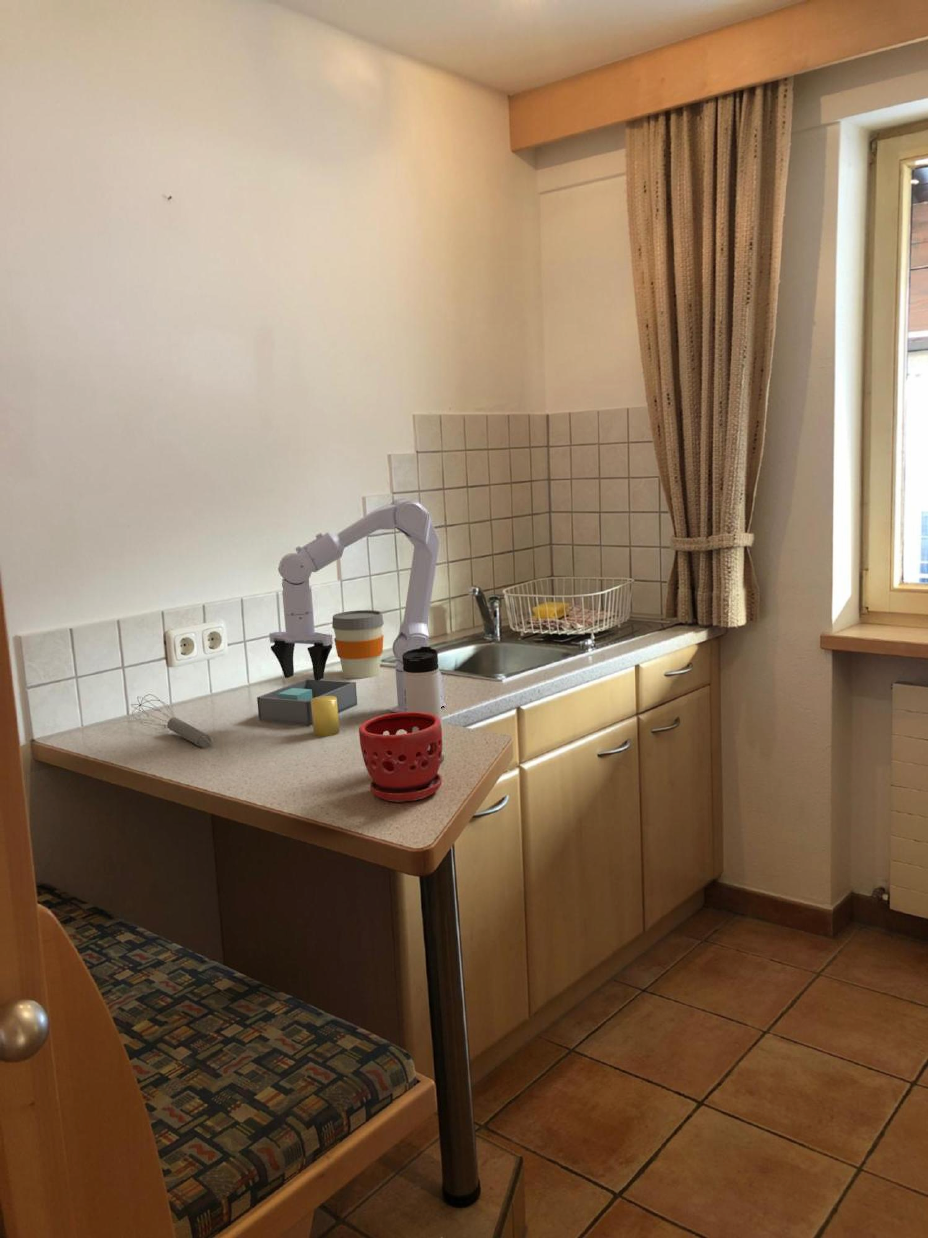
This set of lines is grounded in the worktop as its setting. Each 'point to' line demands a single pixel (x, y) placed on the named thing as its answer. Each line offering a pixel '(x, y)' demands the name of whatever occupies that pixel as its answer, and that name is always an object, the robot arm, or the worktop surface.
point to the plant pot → (402, 755)
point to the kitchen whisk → (181, 727)
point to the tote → (302, 710)
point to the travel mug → (422, 683)
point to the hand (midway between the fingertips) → (304, 678)
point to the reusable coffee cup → (359, 642)
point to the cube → (296, 694)
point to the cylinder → (325, 716)
